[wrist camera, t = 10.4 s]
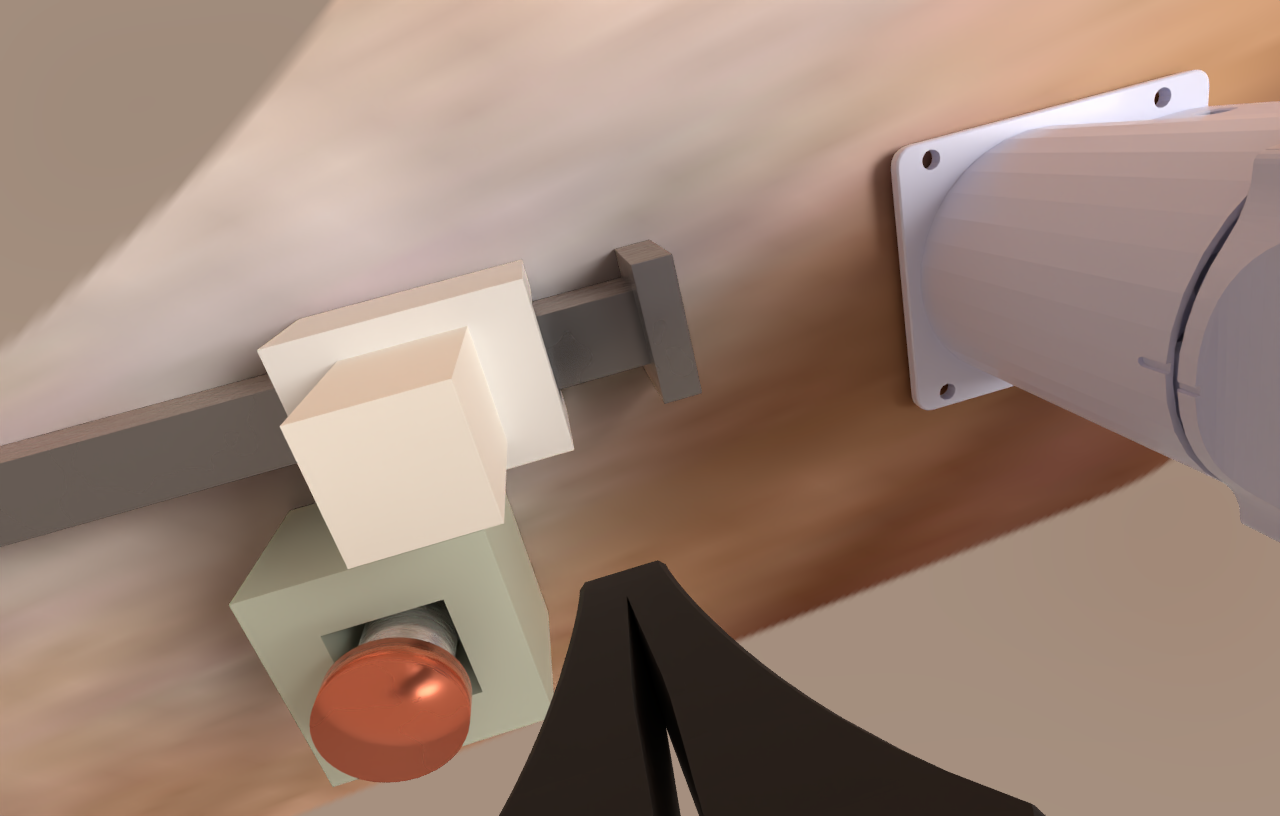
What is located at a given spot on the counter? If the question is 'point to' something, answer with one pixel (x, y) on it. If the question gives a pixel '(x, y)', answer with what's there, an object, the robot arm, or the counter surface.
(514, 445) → the carriage
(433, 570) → the box
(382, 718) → the red push knob
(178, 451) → the rail
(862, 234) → the counter surface
